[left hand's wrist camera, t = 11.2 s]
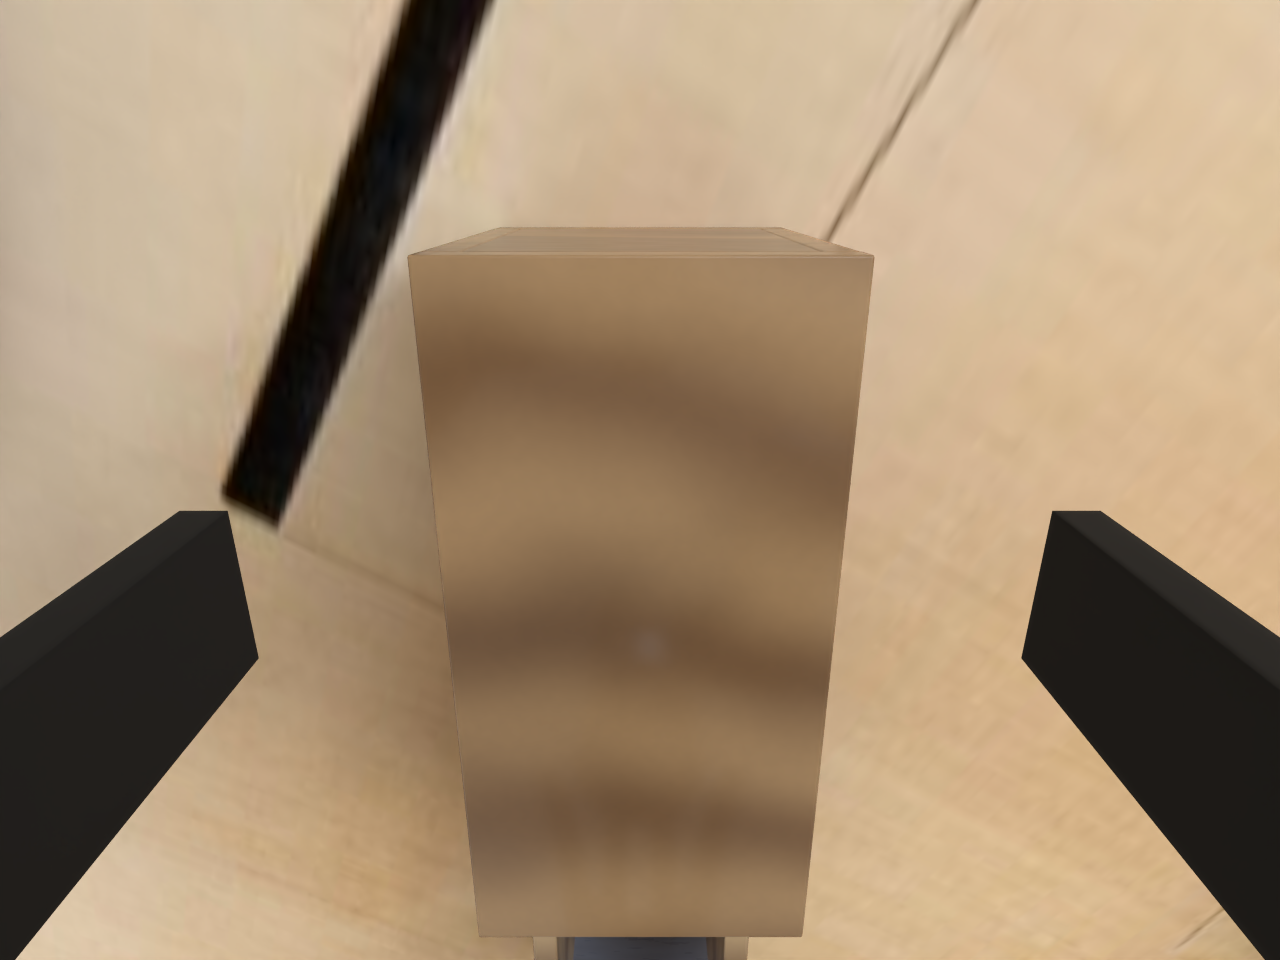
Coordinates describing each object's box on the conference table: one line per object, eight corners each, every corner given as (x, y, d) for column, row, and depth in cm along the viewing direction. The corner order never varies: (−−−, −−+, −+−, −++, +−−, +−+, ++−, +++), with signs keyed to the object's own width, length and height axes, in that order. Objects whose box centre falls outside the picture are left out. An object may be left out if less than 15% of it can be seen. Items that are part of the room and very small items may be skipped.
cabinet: (752, 706, 34) (802, 937, 23) (528, 706, 34) (478, 937, 23) (783, 227, 27) (875, 254, 16) (497, 227, 27) (406, 254, 16)
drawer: (725, 990, 39) (750, 1219, 30) (554, 990, 39) (530, 1219, 30) (751, 549, 30) (796, 696, 21) (529, 549, 30) (484, 696, 21)
